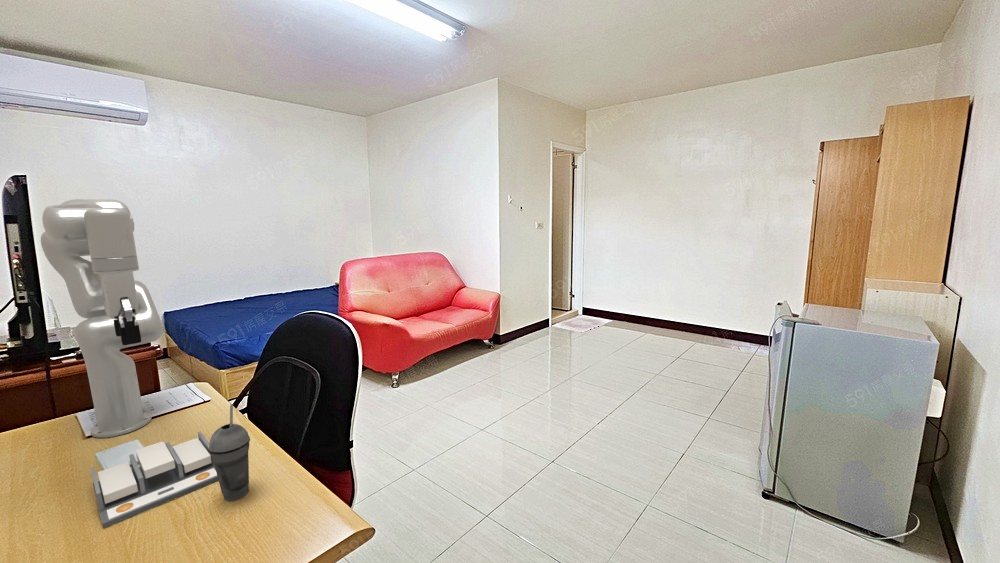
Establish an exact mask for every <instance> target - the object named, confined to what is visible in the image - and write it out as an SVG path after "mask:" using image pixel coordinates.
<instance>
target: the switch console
mask: <svg viewBox="0 0 1000 563" xmlns="http://www.w3.org/2000/svg"><path fill="white" fill-rule="evenodd" d="M197 438H198V439H199V441H200V442H201V443H202V445H203V446H204V447H205V449H206V450H207V451H208V453H209V454H210V452H209V443H210V441H209V440H208V439H207V438H206V437H205V435H204V434H203V433H202V431H198V432H197ZM164 443H165V445H166V447H167V449H168V450H169V452H170V454H171V456H172V457H173V459H174V462H175V468H173V469H171V470H168V471H165V472H163V473H160V474H157V475H154V476H152V477H149V478H145V476H144V474H143V471H142V469H141V467H140V465H138V464H137V462H136V459H135V457H134V455H133V454H131V455H129V457H130V463H131V470H132V473H133V476H134V478H135V481H136V483H137V488H138V492H135V493H132V494H130V495H127V496H125V497H122V498H119V499H117V500H114V501H112V502H109V503H106V504H105V501H104V497H103V494H102V490H101V486H100V482H99V479H98V477H97V476H98V475H97V472H96V469H95V466H92V467H90V473H91V478H92V482H93V483H92V486H93V490H94V495H95V499H96V503H97V508H98V512H99V517H100V522H101V526H102V529H103V528H104V529H105V527H106V528H108V527H110V526H114V525H115V524H117V523H120V522H123V521H125V520H127V519H130V518H132V517H134V516H137V515H139V514H142V513H144V512H147V511H149V510H152V509H154V508H157V507H159V506H161V505H164V504H165V503H168V502H171V501H173V500H175V499H177V498H180V497H183V496H185V495H187V494H190V493H193V492H194V491H197V490H200V489H202V488H204V487H207V486H209V485H211V484H214V483H216V482H219V480H218V476H217V472H216V468H215V465H214V461H213V459H212V457H211V461H212V463H210V464H207V465H205V466H202V467H200V468H197V469H194V470H192V471H189V472H187V473H185V472H184V470H183V469H182V463H181V461H180V459H179V458H178V456H177V454H176V453H175V451H174V450H173V446H172V445H171V443H170V442H169V441H168V442H164Z"/></svg>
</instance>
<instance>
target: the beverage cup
mask: <svg viewBox="0 0 1000 563" xmlns="http://www.w3.org/2000/svg"><path fill="white" fill-rule="evenodd" d="M250 441H251V437H250V435H249V433H248V431H247V429H246V428H245V427H244V426H242V425H241V424H237V423H234V404H232V403H231V404H230V405H229V423H227V424H224V425H222V426H220V427H219V428H217V429H216V430H215V431H214V433H213V434H212V435H211V437H210V439H209V452H210V455H211V457H212V459H213V461H214V465H215V468H216V472H217V476H218V480H219V481H218V484H219V487H220V491H221V494H222V497H223V500H224V501H226V502H236V501H238V500H241V499H242V498H245V497H246V496H247V494H248V493H249V488H250V486H249V485H250V470H249V450H250Z"/></svg>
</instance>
